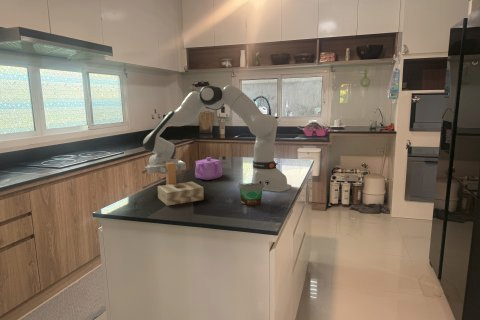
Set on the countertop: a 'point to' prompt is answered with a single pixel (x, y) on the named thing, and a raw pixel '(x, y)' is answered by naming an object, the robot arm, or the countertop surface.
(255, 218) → the countertop surface
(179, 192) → the socket
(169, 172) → the plug
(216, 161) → the teakettle
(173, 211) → the countertop surface
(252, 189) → the food container
